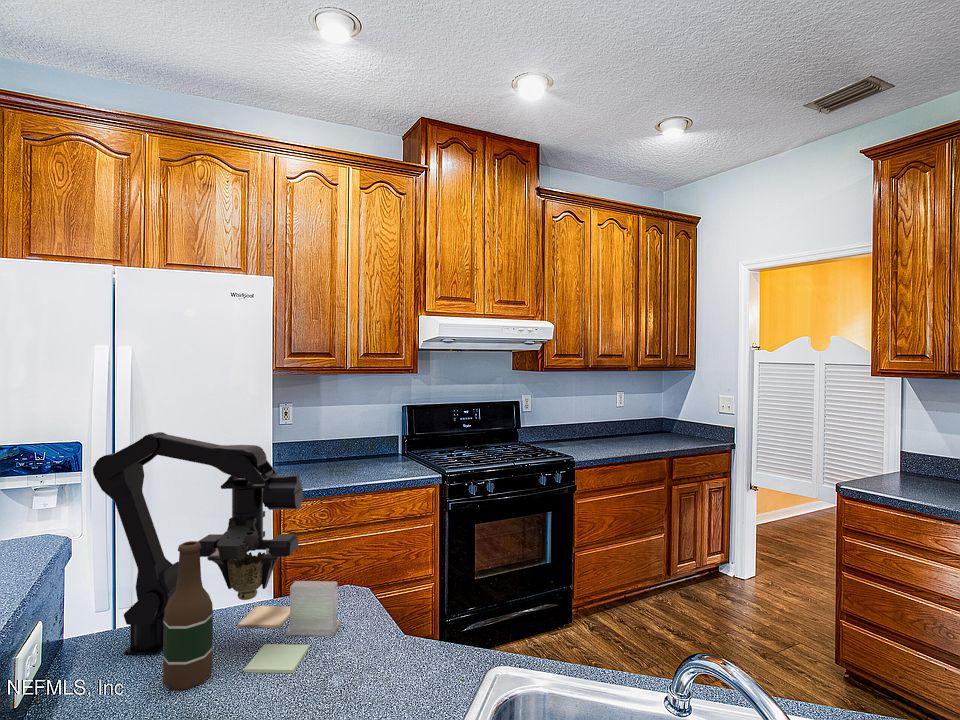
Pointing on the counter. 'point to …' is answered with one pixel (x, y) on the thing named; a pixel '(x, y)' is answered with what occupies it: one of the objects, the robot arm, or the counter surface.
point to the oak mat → (266, 617)
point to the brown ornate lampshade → (246, 575)
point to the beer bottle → (188, 625)
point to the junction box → (313, 608)
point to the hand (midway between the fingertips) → (247, 588)
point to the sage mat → (277, 658)
